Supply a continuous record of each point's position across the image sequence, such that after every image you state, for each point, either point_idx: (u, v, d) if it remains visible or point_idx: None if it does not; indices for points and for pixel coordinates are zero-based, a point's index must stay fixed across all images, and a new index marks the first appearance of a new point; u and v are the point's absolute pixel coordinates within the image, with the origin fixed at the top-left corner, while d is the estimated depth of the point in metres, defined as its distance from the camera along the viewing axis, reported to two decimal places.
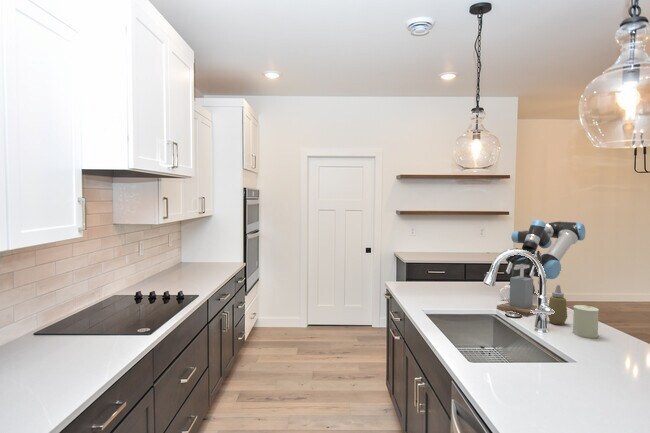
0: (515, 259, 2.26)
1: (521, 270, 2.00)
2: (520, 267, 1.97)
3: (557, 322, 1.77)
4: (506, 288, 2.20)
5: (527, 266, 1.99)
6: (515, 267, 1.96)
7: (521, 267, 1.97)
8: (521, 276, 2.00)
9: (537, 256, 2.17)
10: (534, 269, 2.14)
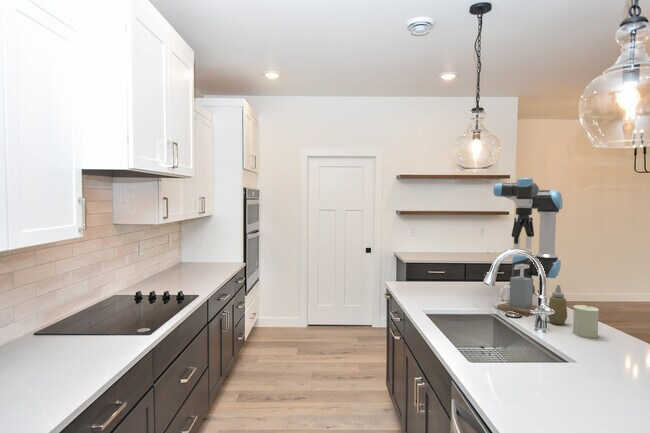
0: None
1: (521, 270, 2.00)
2: (520, 267, 1.97)
3: (557, 322, 1.77)
4: (506, 288, 2.20)
5: (527, 266, 1.99)
6: (515, 267, 1.96)
7: (521, 267, 1.97)
8: (521, 276, 2.00)
9: (532, 224, 2.02)
10: (530, 240, 2.03)
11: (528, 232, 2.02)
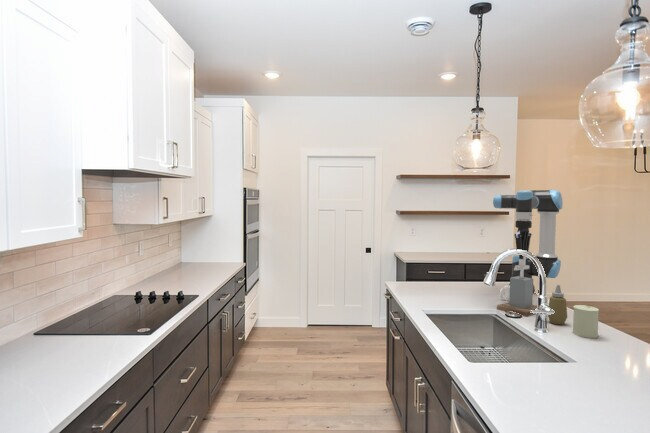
0: None
1: (521, 271, 2.00)
2: (520, 268, 1.97)
3: (557, 322, 1.77)
4: (506, 288, 2.20)
5: (527, 267, 1.99)
6: (515, 268, 1.96)
7: (521, 268, 1.97)
8: (521, 277, 2.00)
9: (529, 240, 2.01)
10: (524, 256, 2.00)
11: None
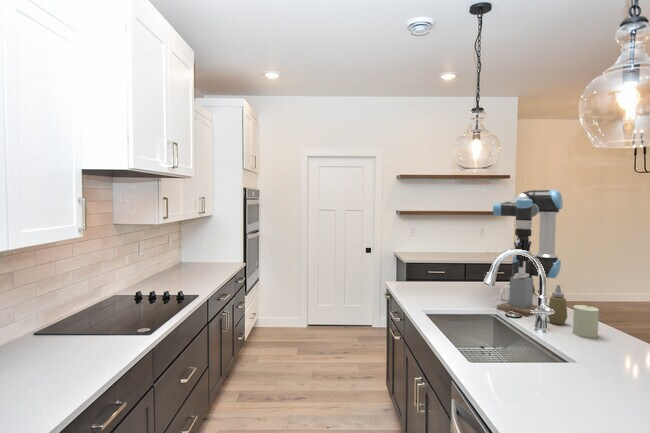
0: None
1: None
2: (520, 276, 1.97)
3: (557, 322, 1.77)
4: (506, 288, 2.20)
5: (527, 275, 1.99)
6: (515, 276, 1.96)
7: (521, 276, 1.97)
8: None
9: (529, 248, 2.01)
10: (524, 265, 2.00)
11: None
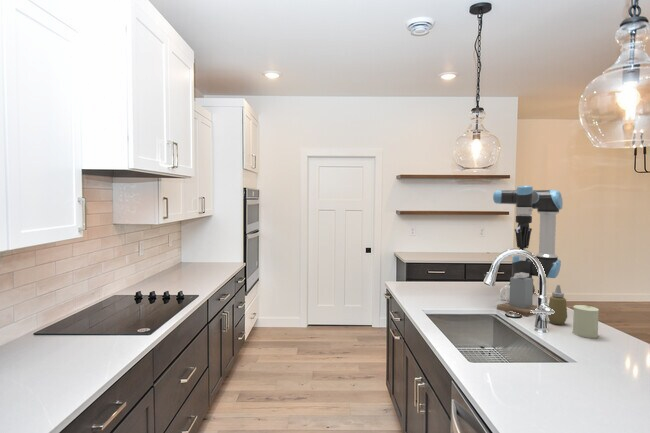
0: None
1: None
2: (520, 276, 1.97)
3: (557, 322, 1.77)
4: (506, 288, 2.20)
5: (527, 275, 1.99)
6: (515, 276, 1.96)
7: (521, 276, 1.97)
8: None
9: (529, 235, 2.01)
10: None
11: None
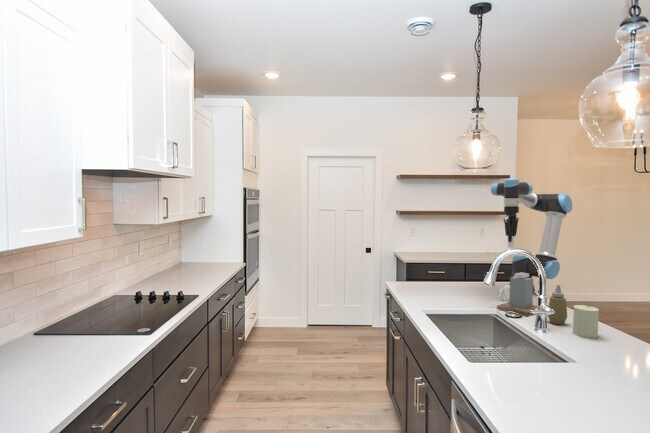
0: None
1: None
2: (520, 276, 1.97)
3: (557, 322, 1.77)
4: (506, 288, 2.20)
5: (527, 275, 1.99)
6: (515, 276, 1.96)
7: (521, 276, 1.97)
8: None
9: (516, 224, 2.17)
10: None
11: None
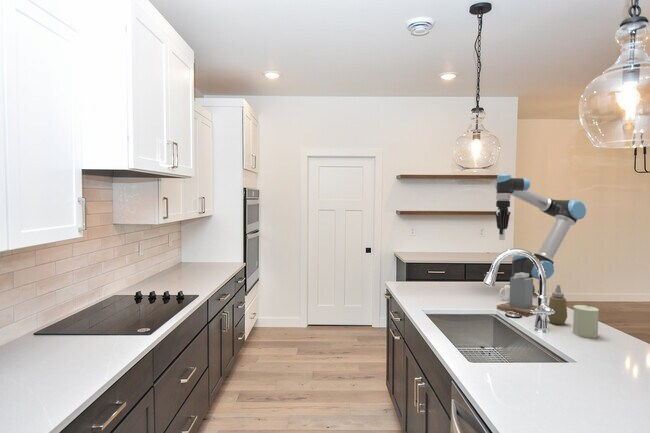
0: None
1: None
2: (520, 276, 1.97)
3: (557, 322, 1.77)
4: (506, 288, 2.20)
5: (527, 275, 1.99)
6: (515, 276, 1.96)
7: (521, 276, 1.97)
8: None
9: (508, 217, 2.29)
10: None
11: None
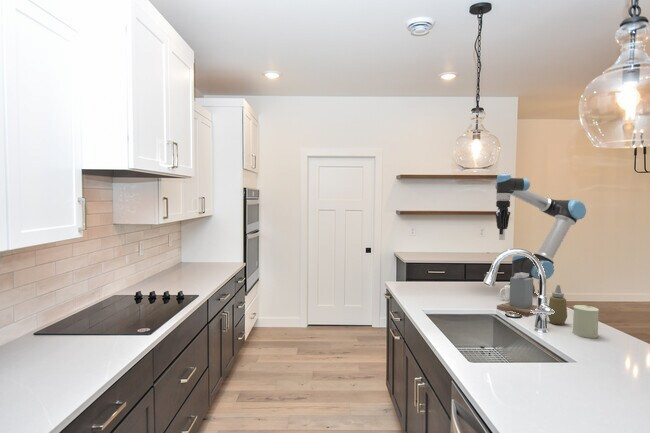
0: None
1: None
2: (520, 276, 1.97)
3: (557, 322, 1.77)
4: (506, 288, 2.20)
5: (527, 275, 1.99)
6: (515, 276, 1.96)
7: (521, 276, 1.97)
8: None
9: (508, 217, 2.29)
10: None
11: None
